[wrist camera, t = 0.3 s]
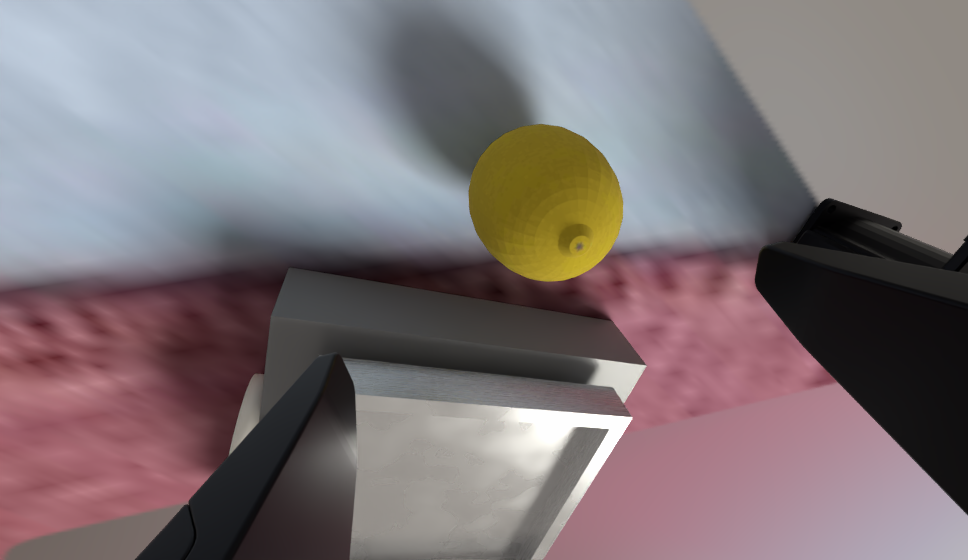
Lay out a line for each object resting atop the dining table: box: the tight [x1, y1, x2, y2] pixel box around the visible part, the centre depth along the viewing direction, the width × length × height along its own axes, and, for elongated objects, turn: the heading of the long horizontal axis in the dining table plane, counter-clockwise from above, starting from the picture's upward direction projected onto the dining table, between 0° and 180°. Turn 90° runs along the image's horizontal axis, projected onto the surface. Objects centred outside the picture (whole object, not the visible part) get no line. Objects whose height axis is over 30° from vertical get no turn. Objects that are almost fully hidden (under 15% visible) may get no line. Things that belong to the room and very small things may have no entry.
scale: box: [229, 267, 647, 455], centre depth 24 cm, size 19×16×6 cm
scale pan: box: [319, 355, 632, 560], centre depth 22 cm, size 14×14×2 cm
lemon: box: [469, 124, 623, 281], centre depth 17 cm, size 6×6×8 cm
